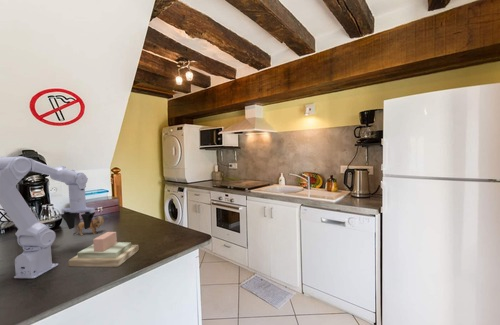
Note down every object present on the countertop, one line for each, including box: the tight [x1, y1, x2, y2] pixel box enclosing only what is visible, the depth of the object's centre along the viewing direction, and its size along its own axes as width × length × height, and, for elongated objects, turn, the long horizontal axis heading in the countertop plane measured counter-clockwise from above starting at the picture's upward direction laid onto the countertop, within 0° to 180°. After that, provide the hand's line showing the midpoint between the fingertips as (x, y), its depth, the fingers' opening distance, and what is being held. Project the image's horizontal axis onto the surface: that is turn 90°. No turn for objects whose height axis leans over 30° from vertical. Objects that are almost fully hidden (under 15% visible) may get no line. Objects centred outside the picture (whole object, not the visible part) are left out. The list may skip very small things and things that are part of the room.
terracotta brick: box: [92, 231, 118, 252], centre depth 92 cm, size 8×4×5 cm, turn 176°
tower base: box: [68, 241, 140, 268], centre depth 92 cm, size 14×20×4 cm
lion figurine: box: [73, 216, 105, 236], centre depth 120 cm, size 15×5×9 cm, turn 108°
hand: (79, 228), depth 100 cm, fingers open, 7 cm apart
